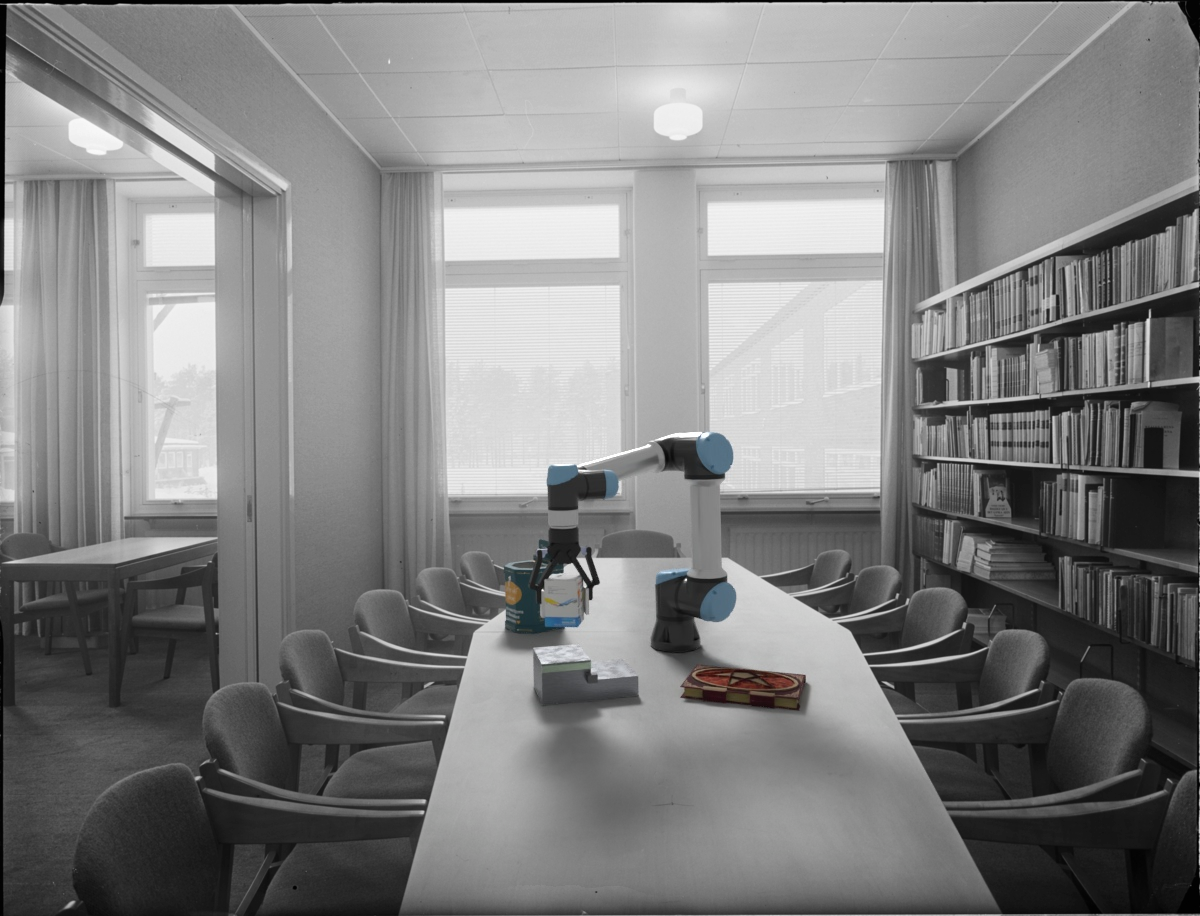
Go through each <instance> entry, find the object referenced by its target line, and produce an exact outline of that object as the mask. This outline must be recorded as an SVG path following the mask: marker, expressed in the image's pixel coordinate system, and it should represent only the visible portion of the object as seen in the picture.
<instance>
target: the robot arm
mask: <svg viewBox="0 0 1200 916" xmlns="http://www.w3.org/2000/svg"><path fill="white" fill-rule="evenodd" d="M733 463H734V450H733V446H732V444H731V443H730V441H729V439H727V437H726V436H725V435H723V434H721V433H720V432H715V431H713V432H712V431H707V430H706V431H679V432H676V433H671V434H669V435H666V436H662V437H660V438H659V437H658V438H656V439H654V440H649V441H647V442H646V443H645V444H644V445H643V446H641V447H638V448H637V447H636V448H634V449H630V450H627V451H623V452H620V453H617V454H613V455H609V456H607V457H603V458H599V459H595V460H592V461H589V462H584V463H580V464H578V465H577V464H576V463H555V464H550V465H549V466H548V467H547V477H546V486H547V518H548V520H547V521H548V523H547V524H548V526H549V527H548V529H547V530H548V536H547V537H548V539H547V541H548V547H547V549H539V547H537V548H536V549H535V554H536V560H535V563H534V567H533V570H532V573H531V577H530V580H529V584H528V586H529V588H530V589H533V590H535V591H536V602H537V604H540V616H541V617H542V618H545V591H544V590H543V589H542V588H543V587H544V580H545V579H548V578H549V576H550V574H551V573H552V571H553V569H554V568H555V567H556V565H557V564H558V565H562V564H563V565H564V564H565V565H571V564H572V565H573V566H574V568H575V570H576V571H577V573H578V574H580V575H581V576H582V578H583V583H584V584H585V585H586V586H583V596H584V615H590V601H593V599H594V597H593V596H594V595H593V594H594V593H593V591H594V587H595V586H600V584H601V581H600V578H599V576H598V571H597V569H596V566H595V563H594V559H593V555H592V552H593V551H592V548H591V547H590V546H589V545H585V546H581V545H580V541H579V540H580V538H579V537H580V535H579V527H578V525H579V502H584V501H596V500H598V501H600V500H603V501H605V500H608V499H613V498H614V497H616V495H617V494H618V491H619V489H620V488H619V487H620V486H619V485H620V484H619V482H621V481H625V480H627V479H631V478H634V477H637V476H640V475H644V474H647V473H650V472H652V473H653V474H659V473H661V472H683V475H684V476H683V479H684V481H685V482H686V483H687V484H688V486H689V505H690V507H689V508H690V512H689V513H690V548H691V568H685V567H684V568H671V569H664V570H660V571H659V572H658V573H656V576H655V584H654V587H655V590H654V591H655V623H654V626H653V628H652V632H651V635H650V646H651V647H652V648H653V649H655V650H659V651H661V652H668V653H669V652H670V653H683V652H684V653H685V652H691V651H695V650H698V649H699V648H700V647H701V645H702V644H701V636H700V635H701V634H700V633H699V631H698V629H699V628H698V627H697V624H696V621H695V618H697V619H699V620H703V621H704V622H712V623H720V622H723V621H725V620H726V619H728V618H729V617H730V615H731V613H733V611H734V609H735V607H736V604H737V592H736V591H737V590H736V589H735V587H734V586H733V585H732V584H731V583H729V582H728V572H727V571H726V570H725V569H724V568H723V565H722V563H723V562H722V560H723V559H722V558H723V557H722V523H721V522H722V519H721V518H722V517H721V516H722V513H721V512H722V511H721V484H722V483H723V482H724V481H725V480H726V473H727V472H728V471H730V469H731V467H732V465H733ZM546 553H548V554H549V556H550V557H551V559H550V561H549V563H548V565H547V567H546V569H545V570H544V572H543V574H542V576H541V578H540V579H539V581H538V583H537V585H536V581H537V577H538V574H539V570H540V567H541V564H542V558H544V557H545V554H546ZM580 553H582V555H583V556H584V559H585V561H586V564H587V567H588V570H589V573H590V575H591V579H592V580H591V579H590V578H589V575H587V573H586V571H585V570H584V568H583V566H582V565H581V563H580V561H579V560H578V558H577V557H578V556H579V554H580Z"/></svg>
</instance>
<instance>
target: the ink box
mask: <svg viewBox="0 0 1200 916" xmlns="http://www.w3.org/2000/svg"><path fill="white" fill-rule="evenodd" d="M544 586H545V627H565V628H579V627H580V625H581V624H582V622H583V621H584V620H585V613H584V596H583V587H584V580H583V578H582V576H581V575H580V574H579V573H560V574H552V575H550V576H549V578H548V579H545V580H544Z"/></svg>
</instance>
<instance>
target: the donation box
mask: <svg viewBox="0 0 1200 916" xmlns="http://www.w3.org/2000/svg"><path fill="white" fill-rule="evenodd" d="M547 547H548V540H546V539H542V538H540V539H539V540H538V548H539V549H547ZM532 556H533V558H532V559H530V560H521V561H514V562H508V563H507V564H505V565H503V574H504V588H505V589H504V590H505V591H504V592H505V594H504V596H505V620H504V628H505V629H506V630H508V631H510V632H512V633H515V634H529V635H530V634H531V635H535V634H539V633H540V634H541V633H546V632H550V631H554V630H560V629H565V628H566V627H545V618H542V617H541V616H540V604H537V602H536V591H535V590H533V589H530V588H529V586H528V584H529V580H530V577H531V573H532V570H533V567H534V563H535V560H536V553H535V554H533V555H532ZM550 559H551V557H550V556H549V554H548V553H546V554H545V557H544V558H542V564H541V567H540V570H539V574H538V577H537V581H536V585H537V583H538V581H539V579H540V578H541V576H542V574H543V572H544V570H545V569H546V567H547V565H548V563H549V561H550ZM564 566H565V565H564V564H562V565H558V564H557V565H556V567H555V568H554V569H553V571H552V573H551V574H550V575H552V574H560V573H564V571H565V569H564ZM542 589H543V590H544V591H545V586H544V587H543V588H542Z"/></svg>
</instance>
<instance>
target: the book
mask: <svg viewBox="0 0 1200 916" xmlns="http://www.w3.org/2000/svg"><path fill="white" fill-rule="evenodd" d="M806 677H807V675H806V674H803V673H802V674H800V673H791V672H782V671H781V672H779V671H770V670H759V669H753V668H752V669H751V668H741V667H739V668H738V667H729V666H727V667H726V666H719V665H718V666H717V665H716V666H715V665H708V664H707V665H706V664H696V665H695V666H694V668H693V669H692V670H691V671H690V673H689V674H688V675H687V677H686V678H685V680H684V681H683V682H682V684H681V685H680V686H679V687H680V688H683V690H684V691H683V692H682V694H681V696H680V698H681V699H689V700H699V701H702V702H707V703H708V702H709V703H710V702H711V703H717V704H718V703H719V704H734V705H735V704H736V705H742V706H743V705H745V706H750V707H754V708H755V707H757V708H764V709H771V710H772V709H773V710H774V709H782V710H790V711H800V709H801V705H800V702H799V701H800V699H801V694H802V691H803V686H804V685H805V684H806V683H807V678H806Z"/></svg>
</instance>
